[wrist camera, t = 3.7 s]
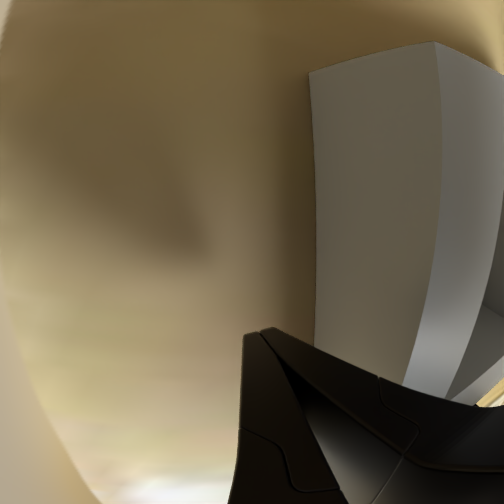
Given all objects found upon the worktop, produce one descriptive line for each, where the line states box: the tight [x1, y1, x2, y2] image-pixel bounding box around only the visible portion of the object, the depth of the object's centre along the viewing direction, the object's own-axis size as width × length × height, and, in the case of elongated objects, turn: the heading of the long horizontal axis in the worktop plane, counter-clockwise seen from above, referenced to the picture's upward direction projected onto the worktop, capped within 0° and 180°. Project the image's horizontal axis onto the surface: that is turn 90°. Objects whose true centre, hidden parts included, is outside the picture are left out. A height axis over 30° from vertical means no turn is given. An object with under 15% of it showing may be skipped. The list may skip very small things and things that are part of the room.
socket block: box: [308, 41, 504, 406], centre depth 10 cm, size 14×14×5 cm
